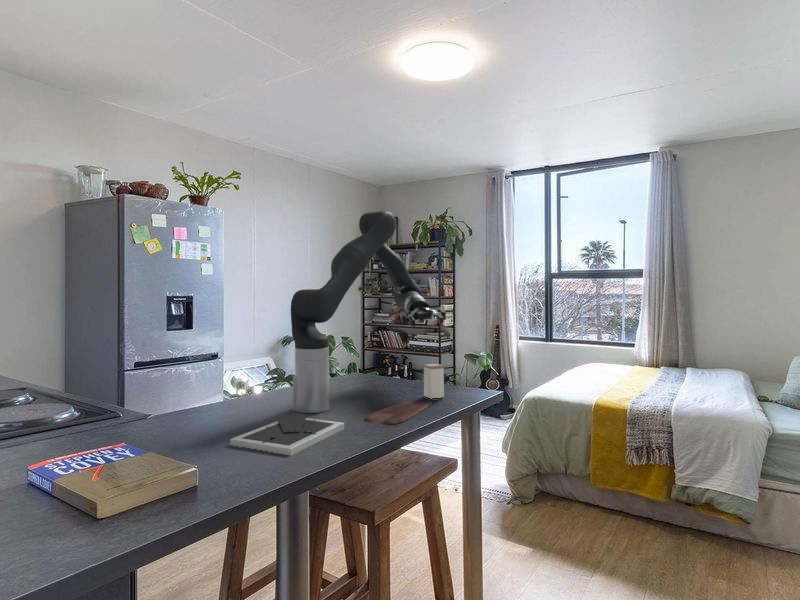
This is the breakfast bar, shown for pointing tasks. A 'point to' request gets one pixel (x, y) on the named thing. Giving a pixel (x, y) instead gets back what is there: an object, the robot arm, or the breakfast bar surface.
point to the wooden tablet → (398, 413)
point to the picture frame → (288, 434)
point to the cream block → (433, 380)
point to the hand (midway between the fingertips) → (427, 322)
